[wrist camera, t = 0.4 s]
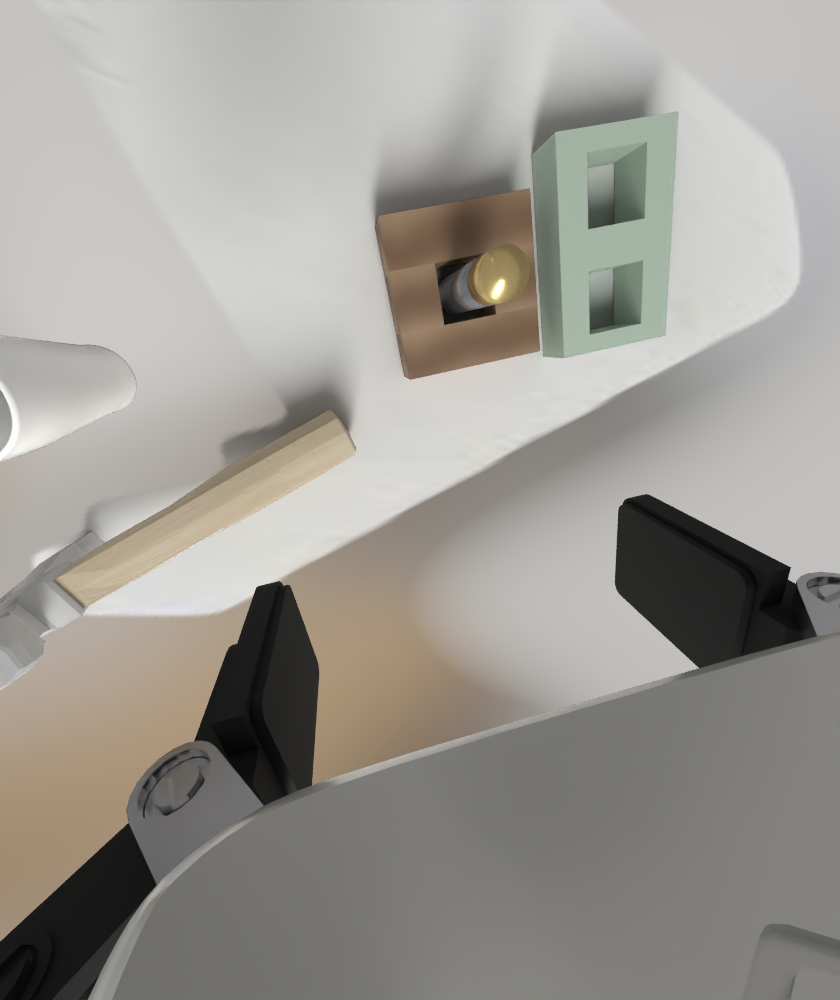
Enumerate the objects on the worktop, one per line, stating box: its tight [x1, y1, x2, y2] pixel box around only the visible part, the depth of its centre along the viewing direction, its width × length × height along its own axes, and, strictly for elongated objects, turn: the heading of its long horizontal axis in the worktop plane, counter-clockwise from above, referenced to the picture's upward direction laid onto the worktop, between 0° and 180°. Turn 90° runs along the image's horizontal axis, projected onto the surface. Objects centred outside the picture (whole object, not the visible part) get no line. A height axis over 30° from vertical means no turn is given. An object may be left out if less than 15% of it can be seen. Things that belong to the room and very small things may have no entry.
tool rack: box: [532, 112, 678, 358], centre depth 35 cm, size 16×10×4 cm, turn 11°
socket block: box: [375, 188, 540, 380], centre depth 34 cm, size 12×12×4 cm
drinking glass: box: [0, 335, 137, 462], centre depth 26 cm, size 7×7×15 cm
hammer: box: [0, 410, 356, 690], centre depth 33 cm, size 16×5×30 cm
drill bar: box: [439, 244, 530, 314], centre depth 30 cm, size 3×3×12 cm
